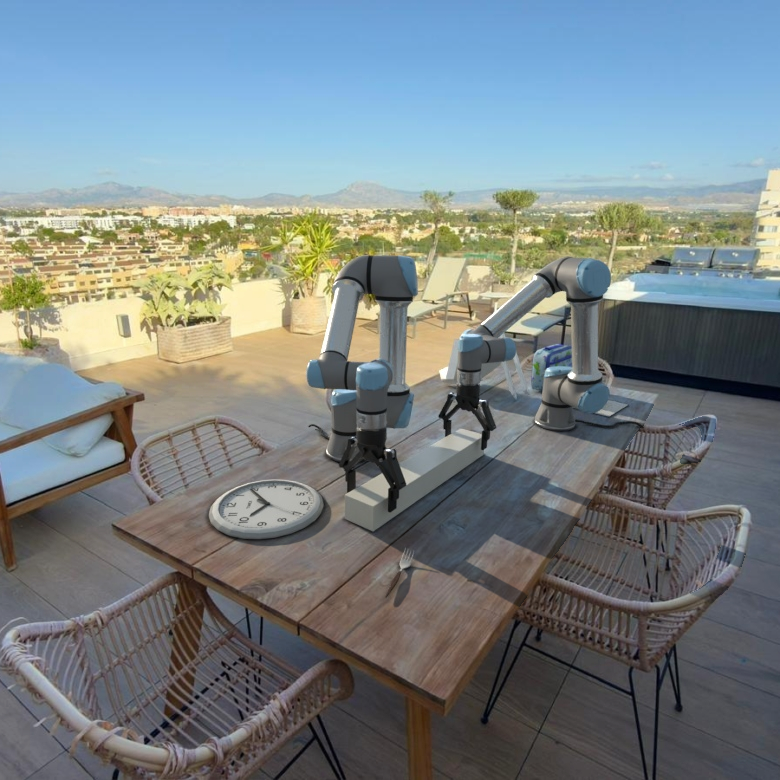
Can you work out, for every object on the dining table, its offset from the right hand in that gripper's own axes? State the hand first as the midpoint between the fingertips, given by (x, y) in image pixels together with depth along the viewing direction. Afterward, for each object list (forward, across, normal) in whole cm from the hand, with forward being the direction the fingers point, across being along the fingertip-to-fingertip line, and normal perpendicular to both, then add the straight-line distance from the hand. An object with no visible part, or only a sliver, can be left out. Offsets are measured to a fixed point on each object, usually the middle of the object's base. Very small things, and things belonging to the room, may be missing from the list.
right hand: (465, 443), depth 174 cm
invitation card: (+6, +21, +82) cm, 85 cm away
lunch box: (+6, -6, +94) cm, 95 cm away
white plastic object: (+5, -29, +67) cm, 73 cm away
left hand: (-1, 0, -49) cm, 49 cm away
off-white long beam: (+4, 0, -25) cm, 25 cm away
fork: (+4, +20, -65) cm, 68 cm away
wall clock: (+3, -25, -64) cm, 68 cm away
